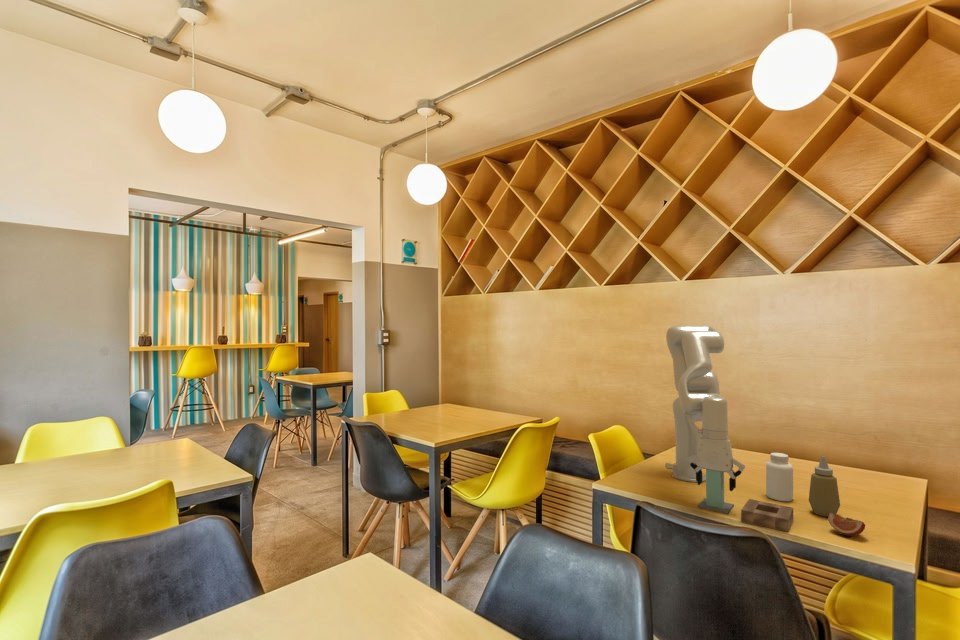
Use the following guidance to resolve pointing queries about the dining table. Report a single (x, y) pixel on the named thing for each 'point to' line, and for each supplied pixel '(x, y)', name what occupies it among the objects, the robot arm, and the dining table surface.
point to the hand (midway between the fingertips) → (715, 486)
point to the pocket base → (767, 515)
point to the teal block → (714, 488)
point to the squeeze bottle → (824, 490)
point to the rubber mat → (724, 509)
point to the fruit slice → (846, 525)
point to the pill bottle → (779, 477)
